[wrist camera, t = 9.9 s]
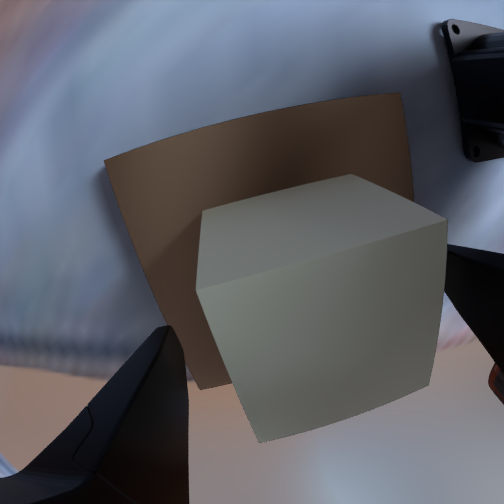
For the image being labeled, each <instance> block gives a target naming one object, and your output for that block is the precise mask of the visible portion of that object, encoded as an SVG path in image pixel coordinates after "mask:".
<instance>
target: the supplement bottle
mask: <svg viewBox="0 0 504 504" xmlns="http://www.w3.org/2000/svg"><path fill="white" fill-rule="evenodd" d="M488 383H489V387H490V388H491V390H492V391H493V392H494V394H495V395H496V396H497V397H498V398H499V400H500V401H501V402H502V403H503V404H504V375H503V373H502V372H501V370H500V369H499V367H498V366H497V364H496V363H495V364H494V366H493V368H492V370H491V373H490V375H489V381H488Z"/></svg>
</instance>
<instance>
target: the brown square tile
mask: <svg viewBox="0 0 504 504" xmlns="http://www.w3.org/2000/svg"><path fill="white" fill-rule="evenodd" d="M104 163H105V166H106V169H107V173H108V176H109V179H110V182H111V185H112V188H113V191H114V194H115V197H116V200H117V202H118V205H119V208H120V211H121V214H122V217H123V219H124V222H125V225H126V227H127V230H128V233H129V235H130V238H131V241H132V243H133V246H134V248H135V251H136V253H137V256H138V258H139V261H140V263H141V266H142V268H143V271H144V273H145V276H146V278H147V280H148V283H149V285H150V287H151V290H152V292H153V294H154V297H155V299H156V301H157V303H158V306H159V308H160V310H161V312H162V315H163V317H164V319H165V321H166V323H167V325H171V326H172V327H173V329H174V331H175V333H176V335H177V337H178V339H179V341H180V343H181V345H182V348H183V351H184V357H185V362H186V364H187V366H188V368H189V370H190V372H191V374H192V376H193V378H194V380H195V382H196V384H197V386H198V387H199V389H200V390H203V389H207V388H213V387H217V386H222V385H226V384H230V383H232V381H231V378H230V376H229V374H228V371H227V369H226V367H225V364H224V362H223V359H222V357H221V354H220V352H219V349H218V347H217V344H216V342H215V339H214V337H213V334H212V332H211V329H210V327H209V324H208V321H207V319H206V316H205V314H204V311H203V308H202V306H201V303H200V300H199V298H198V295H197V292H196V279H197V266H198V253H199V242H200V231H201V220H202V211H203V210H207V209H210V208H214V207H218V206H221V205H225V204H229V203H233V202H236V201H240V200H244V199H248V198H252V197H256V196H259V195H263V194H267V193H271V192H275V191H279V190H283V189H288V188H292V187H296V186H300V185H304V184H309V183H313V182H317V181H321V180H326V179H330V178H335V177H339V176H344V175H348V174H353V175H356V176H358V177H360V178H362V179H365V180H367V181H369V182H372V183H374V184H376V185H378V186H380V187H383V188H385V189H387V190H389V191H391V192H393V193H396V194H398V195H400V196H402V197H404V198H406V199H408V200H410V201H412V202H414V193H413V180H412V169H411V160H410V151H409V143H408V136H407V129H406V122H405V116H404V110H403V104H402V99H401V94H400V92H398V93H385V94H375V95H366V96H357V97H349V98H342V99H335V100H328V101H322V102H316V103H310V104H304V105H298V106H293V107H288V108H283V109H278V110H273V111H268V112H263V113H259V114H254V115H250V116H246V117H242V118H237V119H233V120H229V121H225V122H222V123H218V124H214V125H210V126H207V127H203V128H199V129H196V130H192V131H189V132H186V133H182V134H179V135H176V136H173V137H169V138H166V139H163V140H160V141H157V142H154V143H151V144H148V145H145V146H142V147H139V148H136V149H133V150H131V151H128V152H125V153H122V154H120V155H117V156H114V157H112V158H109V159H107V160H104Z"/></svg>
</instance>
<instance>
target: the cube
mask: <svg viewBox="0 0 504 504" xmlns="http://www.w3.org/2000/svg"><path fill="white" fill-rule="evenodd" d="M447 228H448V220H447V219H445V218H444V217H442V216H440V215H438V214H436V213H434V212H432V211H430V210H428V209H426V208H424V207H422V206H420V205H418V204H416V203H414V202H412V201H410V200H408V199H406V198H404V197H402V196H400V195H398V194H396V193H393V192H391V191H389V190H387V189H385V188H383V187H380V186H378V185H376V184H374V183H372V182H369V181H367V180H365V179H362V178H360V177H358V176H356V175H353V174H348V175H344V176H339V177H335V178H330V179H326V180H321V181H317V182H313V183H309V184H304V185H300V186H296V187H292V188H288V189H283V190H279V191H275V192H271V193H267V194H263V195H259V196H256V197H252V198H248V199H244V200H240V201H236V202H233V203H229V204H225V205H221V206H218V207H214V208H210V209H207V210H203V211H202V220H201V231H200V242H199V253H198V266H197V279H196V292H197V295H198V298H199V300H200V303H201V306H202V308H203V311H204V314H205V316H206V319H207V321H208V324H209V327H210V329H211V332H212V334H213V337H214V339H215V342H216V344H217V347H218V349H219V352H220V354H221V357H222V359H223V362H224V364H225V367H226V369H227V371H228V374H229V376H230V378H231V381H232V383H233V386H234V388H235V390H236V393H237V395H238V397H239V399H240V402H241V404H242V406H243V409H244V411H245V413H246V415H247V418H248V420H249V422H250V424H251V426H252V429H253V431H254V433H255V435H256V437H257V440H258V442H259V443H262V442H267V441H271V440H275V439H279V438H284V437H287V436H291V435H295V434H298V433H302V432H306V431H309V430H313V429H316V428H319V427H323V426H326V425H329V424H332V423H335V422H338V421H341V420H344V419H347V418H350V417H353V416H356V415H359V414H361V413H364V412H367V411H369V410H372V409H375V408H377V407H380V406H382V405H385V404H387V403H390V402H392V401H395V400H397V399H399V398H402V397H404V396H406V395H408V394H411V393H412V392H415V391H417V390H419V389H422V388H424V387H426V386H428V385H429V381H430V377H431V372H432V368H433V363H434V357H435V352H436V346H437V340H438V334H439V328H440V321H441V313H442V305H443V296H444V285H445V273H446V258H447Z"/></svg>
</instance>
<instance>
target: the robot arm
mask: <svg viewBox="0 0 504 504" xmlns="http://www.w3.org/2000/svg"><path fill="white" fill-rule="evenodd" d="M452 28H453V30H454V32H453V30H452ZM442 30H443V34H444V38H445V42H446V46H447V50H448V54H449V58H450V63H451V67H452V72H453V77H454V83H455V88H456V94H457V100H458V107H459V114H460V122H461V131H462V141H463V152H464V156H465V158H466V159H467V160H468V161H472V162H482V161H488V160H493V159H498V158H504V30H502V29H498V28H494V27H490V26H486V25H481V24H477V23H472V22H467V21H461V20H456V19H449V20H446V21H444V22H443V23H442ZM473 148H474V153H473ZM444 291H445V293H446V294H447V296H448V297H449V299H450V300H451V302H452V304H453V305H454V307H455V308H456V310H457V311H458V313H459V314H460V316H461V317H462V318H463V320H464V321H465V322H466V323H467V325H468V326H469V327H470V329H471V330H472V331H473V333H474V334H475V335H476V337H477V338H478V339H479V341H480V342H481V343H482V345H483V346H484V347H485V349H486V350H487V352H488V353H489V354H490V356H491V357H492V359H493V360H494V362H495V363H496V364H497V366H498V367H499V369H500V370H501V372H502V373H503V375H504V254H502V253H496V252H491V251H485V250H479V249H474V248H468V247H462V246H456V245H450V244H447V258H446V273H445V285H444ZM188 416H189V399H188V389H187V378H186V368H185V357H184V351H183V348H182V345H181V343H180V341H179V339H178V337H177V335H176V333H175V331H174V329H173V327H172V326H171V325H167V326H162V327H158V328H156V329H155V331H154V332H153V333H152V334H151V335H150V336H149V337H148V338H147V339H146V340H145V341H144V343H143V344H142V345H141V346H140V347H139V348H138V349H137V350H136V351H135V352H134V353H133V355H132V356H131V357H130V358H129V359H128V360H127V361H126V362H125V363H124V364H123V366H122V367H121V368H120V369H119V370H118V371H117V372H116V373H115V374H114V376H113V377H112V378H111V379H110V380H109V381H108V382H107V383H106V384H105V386H104V387H103V388H102V389H101V390H100V391H99V392H98V393H97V394H96V396H95V397H94V398H93V399H92V400H91V401H90V402H89V403H88V406H86V407H85V408H84V409H83V410H82V411H81V412H80V413H79V415H78V416H77V417H76V418H75V419H74V420H73V421H72V422H71V423H70V425H68V427H67V428H66V429H65V430H64V431H63V432H62V433H60V435H58V436H57V437H56V439H54V440H53V441H52V442H51V443H50V444H49V445H48V446H47V447H46V448H45V449H44V450H43V451H42V452H41V453H40V454H39V455H38V456H37V457H36V458H35V459H34V460H33V461H31V462H30V463H29V464H28V465H27V466H26V467H25V468H24V469H23V470H21V471H19V472H18V473H16V474H14V475H11V476H8V477H4V478H0V504H189V471H188V470H189V468H188V419H189V417H188Z"/></svg>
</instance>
